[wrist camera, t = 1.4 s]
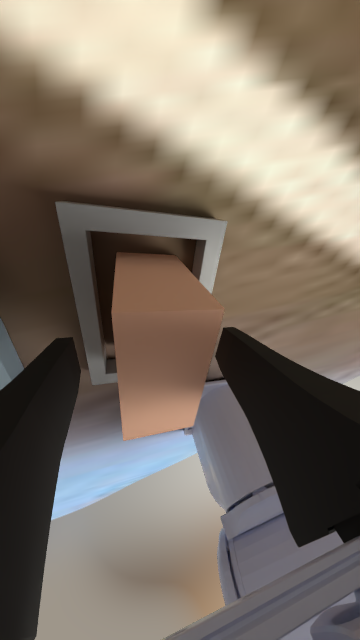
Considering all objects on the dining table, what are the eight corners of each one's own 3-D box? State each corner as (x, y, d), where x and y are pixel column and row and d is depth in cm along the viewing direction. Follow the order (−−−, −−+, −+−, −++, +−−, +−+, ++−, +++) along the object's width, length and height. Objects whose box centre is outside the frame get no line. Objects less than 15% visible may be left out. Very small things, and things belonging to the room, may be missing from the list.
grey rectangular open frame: (189, 359, 17) (194, 372, 16) (94, 370, 15) (92, 385, 14) (215, 218, 11) (227, 221, 10) (63, 200, 9) (54, 201, 8)
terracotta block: (166, 342, 15) (193, 426, 10) (122, 345, 14) (123, 441, 9) (175, 254, 12) (225, 309, 6) (116, 251, 11) (111, 312, 5)
